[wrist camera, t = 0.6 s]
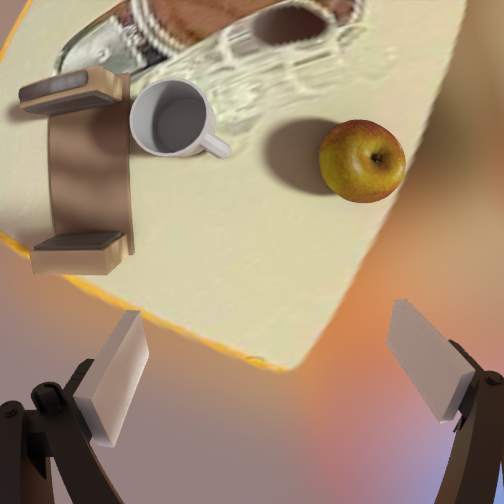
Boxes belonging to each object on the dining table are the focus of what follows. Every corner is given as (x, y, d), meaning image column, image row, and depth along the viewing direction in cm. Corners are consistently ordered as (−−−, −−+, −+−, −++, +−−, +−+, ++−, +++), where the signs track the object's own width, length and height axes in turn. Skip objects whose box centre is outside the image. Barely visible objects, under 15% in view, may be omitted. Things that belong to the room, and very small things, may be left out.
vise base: (55, 89, 31) (20, 79, 23) (130, 74, 31) (105, 55, 23) (62, 253, 37) (30, 273, 29) (134, 252, 37) (111, 275, 30)
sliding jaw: (53, 94, 30) (13, 84, 21) (122, 80, 30) (91, 60, 22) (51, 117, 30) (10, 111, 22) (121, 104, 31) (89, 90, 23)
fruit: (392, 137, 34) (426, 134, 27) (376, 206, 37) (407, 219, 29) (320, 113, 33) (341, 102, 26) (303, 188, 36) (321, 196, 28)
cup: (178, 85, 32) (160, 64, 23) (250, 130, 34) (253, 121, 25) (143, 136, 33) (114, 131, 25) (213, 182, 35) (204, 189, 27)
